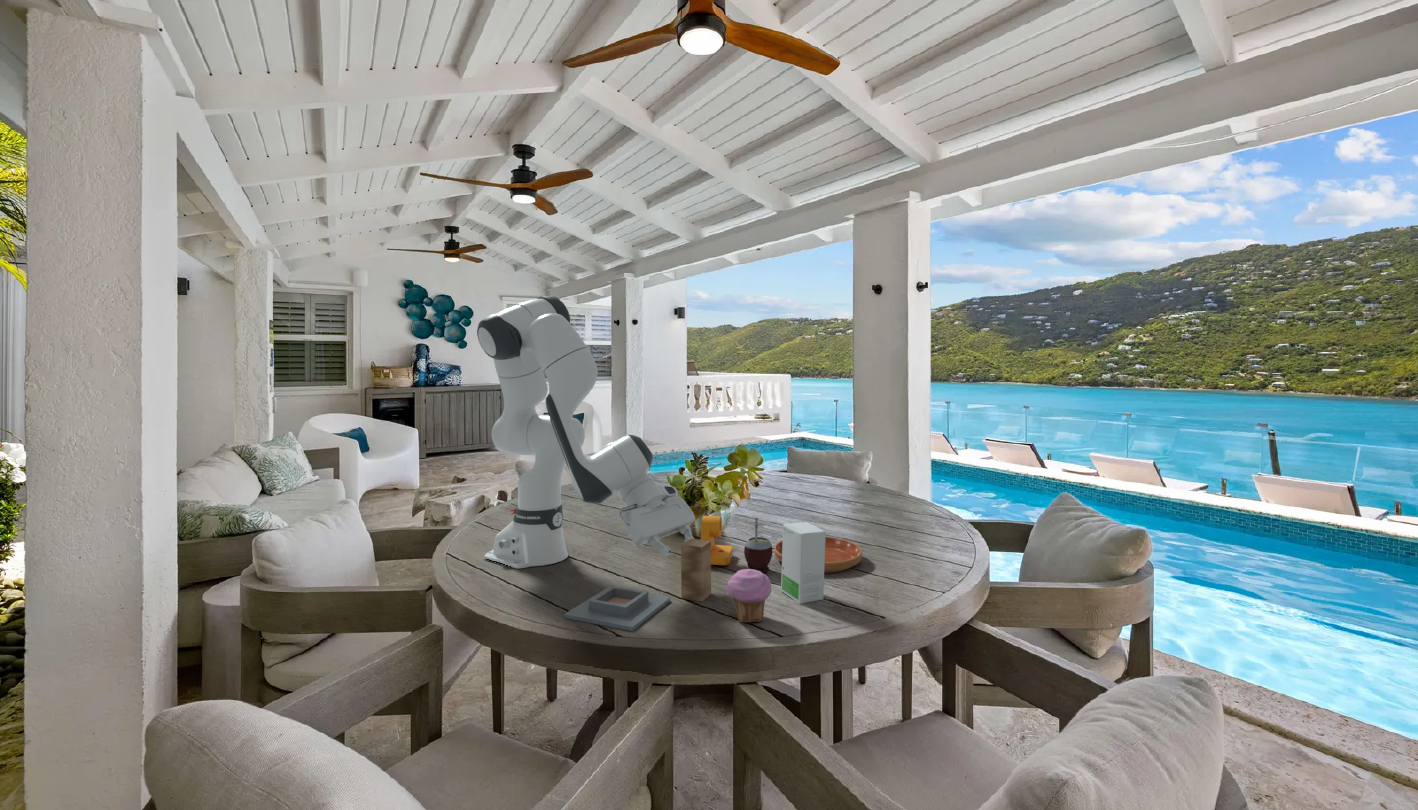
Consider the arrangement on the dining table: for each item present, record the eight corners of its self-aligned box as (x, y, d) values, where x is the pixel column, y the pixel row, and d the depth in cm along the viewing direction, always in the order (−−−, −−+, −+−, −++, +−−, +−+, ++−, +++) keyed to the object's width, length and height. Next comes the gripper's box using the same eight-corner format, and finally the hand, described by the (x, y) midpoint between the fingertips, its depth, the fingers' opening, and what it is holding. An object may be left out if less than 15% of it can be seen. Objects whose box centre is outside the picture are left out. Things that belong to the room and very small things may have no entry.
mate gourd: (760, 564, 148) (760, 507, 148) (780, 573, 142) (780, 513, 141) (737, 570, 144) (737, 511, 144) (756, 579, 138) (756, 518, 137)
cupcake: (730, 629, 111) (730, 578, 110) (725, 611, 119) (724, 563, 119) (775, 627, 112) (775, 576, 111) (767, 609, 120) (766, 562, 120)
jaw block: (681, 598, 127) (681, 544, 126) (691, 590, 131) (690, 538, 131) (702, 601, 125) (701, 547, 124) (711, 593, 129) (710, 541, 129)
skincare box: (780, 591, 130) (780, 523, 129) (805, 587, 133) (805, 520, 132) (800, 605, 122) (800, 533, 122) (826, 600, 125) (826, 529, 124)
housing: (564, 617, 117) (564, 604, 116) (608, 590, 131) (607, 578, 131) (632, 631, 110) (632, 617, 110) (670, 601, 125) (670, 588, 125)
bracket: (727, 568, 146) (727, 522, 145) (699, 567, 147) (699, 521, 147) (732, 555, 157) (732, 512, 156) (706, 554, 158) (706, 511, 157)
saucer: (845, 582, 136) (845, 567, 136) (759, 566, 148) (759, 552, 148) (872, 556, 155) (873, 543, 155) (794, 544, 167) (794, 531, 167)
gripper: (623, 500, 123) (659, 552, 118) (679, 486, 141) (712, 530, 136) (608, 518, 126) (643, 569, 121) (664, 502, 143) (697, 546, 138)
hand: (680, 549), depth 129 cm, fingers open, 8 cm apart
